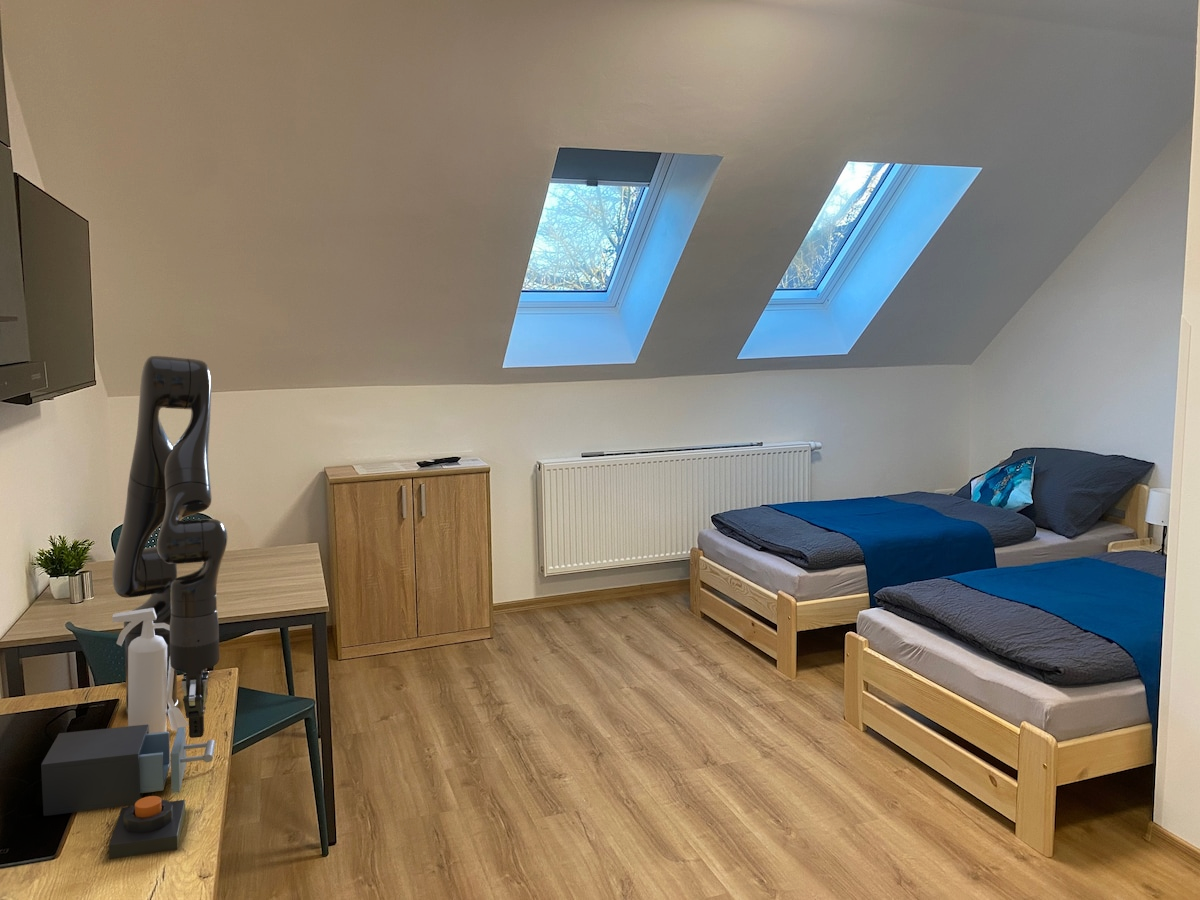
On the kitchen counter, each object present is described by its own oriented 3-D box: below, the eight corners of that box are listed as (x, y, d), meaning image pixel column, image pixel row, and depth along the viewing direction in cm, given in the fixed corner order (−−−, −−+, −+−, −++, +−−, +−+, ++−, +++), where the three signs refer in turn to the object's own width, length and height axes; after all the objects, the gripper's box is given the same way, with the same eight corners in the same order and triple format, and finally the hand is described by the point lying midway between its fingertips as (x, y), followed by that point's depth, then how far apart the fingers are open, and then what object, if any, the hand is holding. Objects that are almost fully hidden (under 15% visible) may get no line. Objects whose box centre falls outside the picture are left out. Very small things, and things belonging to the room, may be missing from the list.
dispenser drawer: (216, 760, 158) (215, 723, 158) (212, 788, 149) (211, 749, 148) (106, 773, 153) (104, 735, 152) (93, 803, 143) (92, 762, 142)
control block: (122, 820, 140) (121, 796, 139) (185, 812, 143) (184, 788, 142) (109, 859, 129) (108, 833, 129) (177, 849, 132) (176, 824, 132)
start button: (137, 808, 137) (136, 797, 136) (163, 805, 138) (162, 794, 138) (133, 820, 133) (132, 809, 133) (160, 817, 134) (159, 806, 134)
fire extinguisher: (187, 741, 167) (184, 611, 164) (114, 749, 163) (109, 617, 160) (190, 726, 174) (186, 601, 171) (120, 734, 169) (115, 606, 166)
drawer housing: (150, 771, 155) (148, 724, 154) (139, 804, 145) (138, 753, 144) (61, 781, 151) (58, 733, 150) (43, 816, 140) (40, 764, 139)
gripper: (215, 649, 145) (217, 750, 147) (221, 623, 157) (223, 717, 159) (164, 652, 142) (167, 755, 144) (174, 626, 155) (177, 721, 157)
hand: (196, 735), depth 152 cm, fingers closed
